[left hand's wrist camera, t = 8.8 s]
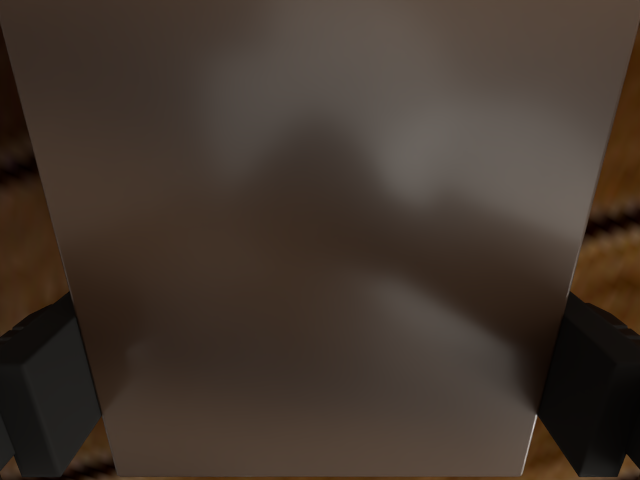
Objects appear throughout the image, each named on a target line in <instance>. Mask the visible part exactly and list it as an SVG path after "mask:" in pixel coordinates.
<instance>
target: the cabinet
mask: <svg viewBox="0 0 640 480" xmlns="http://www.w3.org/2000/svg"><path fill="white" fill-rule="evenodd" d="M639 22H640V0H0V24H1V28H2V32H3V36H4V40H5V44H6V47H7V51H8V55H9V59H10V63H11V67H12V71H13V74H14V78H15V82H16V86H17V90H18V94H19V98H20V101H21V105H22V109H23V113H24V117H25V121H26V125H27V128H28V132H29V136H30V140H31V144H32V148H33V152H34V155H35V159H36V163H37V167H38V171H39V175H40V179H41V182H42V186H43V190H44V194H45V198H46V202H47V206H48V209H49V213H50V217H51V221H52V225H53V229H54V233H55V236H56V240H57V244H58V248H59V252H60V256H61V260H62V263H63V267H64V271H65V275H66V279H67V283H68V287H69V291H70V294H71V298H72V302H73V306H74V310H75V314H76V318H77V321H78V325H79V329H80V333H81V337H82V341H83V345H84V348H85V352H86V356H87V360H88V364H89V368H90V372H91V375H92V379H93V383H94V387H95V391H96V395H97V399H98V402H99V406H100V410H101V414H102V418H103V422H104V426H105V429H106V433H107V437H108V441H109V445H110V449H111V453H112V456H113V460H114V464H115V468H116V472H117V475H118V476H120V477H519V476H521V475H522V473H523V469H524V465H525V462H526V458H527V454H528V450H529V446H530V442H531V438H532V435H533V431H534V427H535V423H536V419H537V415H538V411H539V408H540V404H541V400H542V396H543V392H544V388H545V384H546V381H547V377H548V373H549V369H550V365H551V361H552V357H553V354H554V350H555V346H556V342H557V338H558V334H559V330H560V327H561V323H562V319H563V315H564V311H565V307H566V303H567V299H568V296H569V292H570V288H571V284H572V280H573V276H574V272H575V269H576V265H577V261H578V257H579V253H580V249H581V245H582V242H583V238H584V234H585V230H586V226H587V222H588V218H589V215H590V211H591V207H592V203H593V199H594V195H595V191H596V188H597V184H598V180H599V176H600V172H601V168H602V164H603V161H604V157H605V153H606V149H607V145H608V141H609V137H610V134H611V130H612V126H613V122H614V118H615V114H616V110H617V107H618V103H619V99H620V95H621V91H622V87H623V83H624V80H625V76H626V72H627V68H628V64H629V60H630V56H631V52H632V49H633V45H634V41H635V37H636V33H637V29H638V25H639Z"/></svg>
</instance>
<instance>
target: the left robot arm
mask: <svg viewBox="0 0 640 480" xmlns="http://www.w3.org/2000/svg"><path fill="white" fill-rule="evenodd" d="M101 416H102V414H101V410H100V406H99V402H98V399H97V395H96V391H95V387H94V383H93V379H92V375H91V372H90V368H89V364H88V360H87V356H86V352H85V348H84V345H83V341H82V337H81V333H80V329H79V325H78V321H77V318H76V314H75V310H74V306H73V302H72V298H71V294H70V291H69V292H68V293H67V294H65V295H64V296H63V297H62V298H60V299H59V300H58V301H57V302H55V303H54V304H51V305H48V306H46V307H44V308H42V309H40V310H38V311H36V312H34V313H32V314H30V315H28V316H27V317H26V318H24V319H23V320H22V321H21V322H19V323H18V324H17V325H15V326H14V327H13V329H12V330H9V331H8V332H6V333H5V334H4V335H2V336H1V337H0V471H1V470H2V468H3V467H4V466H5V465H6V464H7V462H8V461H9V460H10V459H11V458H12V457H13V455H14V457H15V460H16V462H17V465H18V468H19V470H20V473H21V475H22V477H61V475H62V474H63V472H64V471H65V469H66V468H67V466H68V465H69V463H70V462H71V460H72V459H73V458H74V456H75V455H76V453H77V452H78V450H79V449H80V447H81V446H82V444H83V443H84V441H85V440H86V438H87V437H88V435H89V434H90V432H91V431H92V429H93V428H94V426H95V425H96V423H97V422H98V420H99V419H100V417H101ZM538 416H539V418H540V419H541V421H542V422H543V424H544V425H545V427H546V428H547V430H548V431H549V433H550V434H551V436H552V437H553V439H554V440H555V442H556V443H557V445H558V446H559V448H560V449H561V451H562V452H563V454H564V455H565V457H566V458H567V460H568V461H569V463H570V464H571V466H572V467H573V469H574V470H575V472H576V473H577V475H578V476H579V477H618V474H619V471H620V469H621V466H622V463H623V461H624V458H625V456H626V454H627V455H628V456H629V457H630V458H631V460H632V461H633V462H634V463H635V464H636V465H637V467H638V468H639V469H640V335H638V334H637V333H636V332H634V331H633V330H632V329H628V328H627V325H625V324H624V323H623V322H621V321H620V320H619V319H617V318H616V317H615V316H613V315H612V314H611V313H609V312H607V311H605V310H603V309H601V308H598V307H596V306H594V305H592V304H590V303H584V302H583V301H582V300H580V299H579V298H578V297H577V296H575V295H574V294H573V293H572V292H569V296H568V299H567V303H566V307H565V311H564V315H563V319H562V323H561V327H560V330H559V334H558V338H557V342H556V346H555V350H554V354H553V357H552V361H551V365H550V369H549V373H548V377H547V381H546V384H545V388H544V392H543V396H542V400H541V404H540V408H539V411H538ZM0 480H2V478H1V475H0ZM638 480H640V475H639V478H638Z"/></svg>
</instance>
